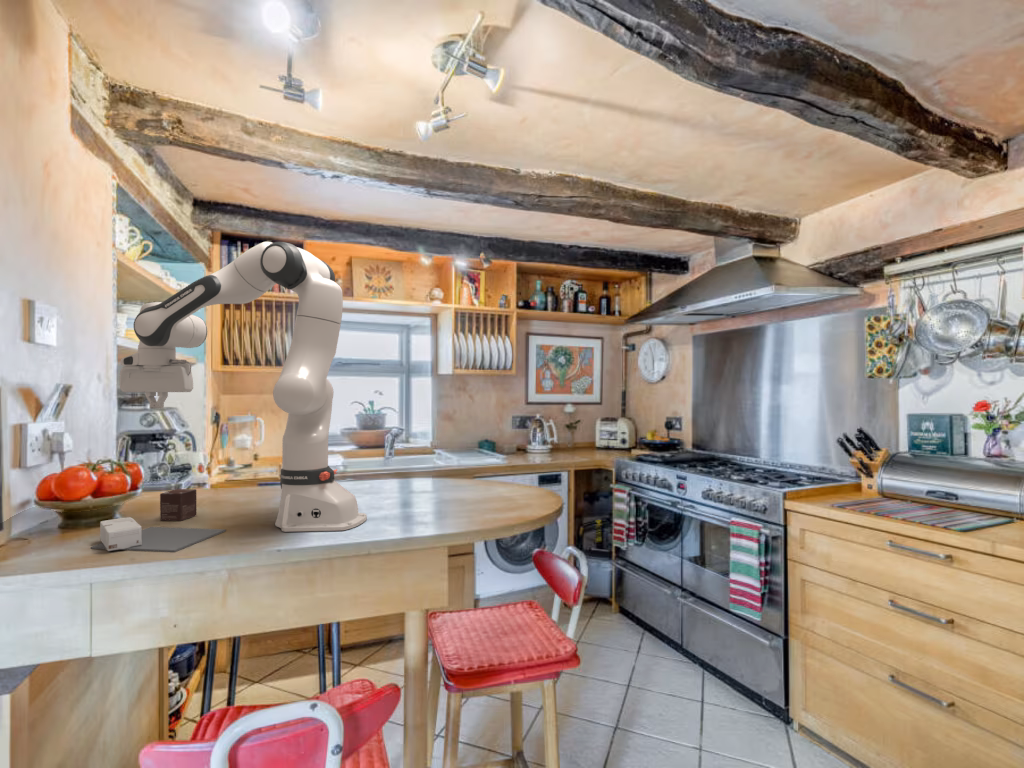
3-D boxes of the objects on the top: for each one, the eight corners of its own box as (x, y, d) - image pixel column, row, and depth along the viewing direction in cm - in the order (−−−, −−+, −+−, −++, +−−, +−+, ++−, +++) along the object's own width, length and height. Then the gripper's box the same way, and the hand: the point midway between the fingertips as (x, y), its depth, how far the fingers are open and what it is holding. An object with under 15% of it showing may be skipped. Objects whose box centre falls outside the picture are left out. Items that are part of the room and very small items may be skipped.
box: (197, 515, 139) (197, 489, 139) (180, 521, 133) (180, 493, 133) (176, 515, 139) (176, 488, 139) (159, 521, 133) (159, 493, 133)
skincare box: (131, 516, 119) (143, 524, 111) (131, 535, 119) (143, 545, 111) (98, 521, 115) (107, 530, 107) (98, 541, 115) (108, 552, 107)
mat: (225, 531, 124) (225, 529, 124) (174, 552, 108) (174, 550, 108) (151, 528, 126) (151, 526, 126) (90, 548, 110) (90, 546, 110)
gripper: (198, 360, 146) (198, 408, 145) (134, 360, 148) (134, 407, 148) (182, 358, 139) (181, 409, 139) (115, 359, 142) (114, 408, 142)
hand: (156, 408), depth 144 cm, fingers closed
